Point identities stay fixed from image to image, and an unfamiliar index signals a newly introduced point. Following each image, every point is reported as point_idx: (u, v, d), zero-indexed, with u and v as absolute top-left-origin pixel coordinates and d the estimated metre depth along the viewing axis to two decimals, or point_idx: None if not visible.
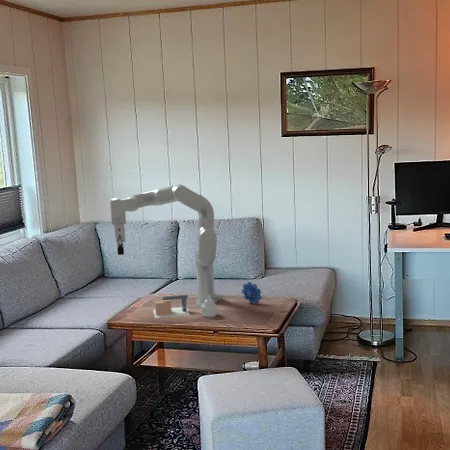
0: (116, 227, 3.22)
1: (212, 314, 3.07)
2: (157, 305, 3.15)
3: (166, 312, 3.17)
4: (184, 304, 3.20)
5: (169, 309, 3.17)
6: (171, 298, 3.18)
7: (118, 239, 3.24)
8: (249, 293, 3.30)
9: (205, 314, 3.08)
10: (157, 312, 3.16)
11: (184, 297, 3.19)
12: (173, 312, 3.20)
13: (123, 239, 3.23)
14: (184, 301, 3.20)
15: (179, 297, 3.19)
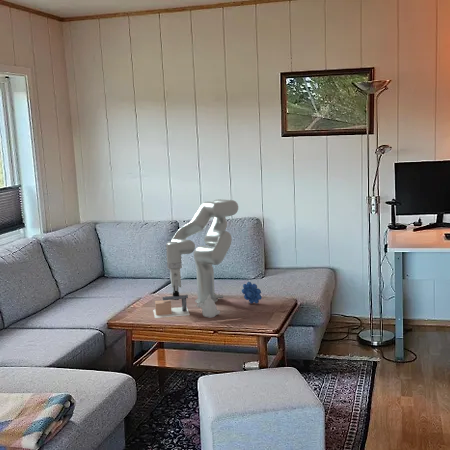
0: (172, 272, 3.16)
1: (212, 314, 3.07)
2: (157, 305, 3.15)
3: (166, 312, 3.17)
4: (184, 304, 3.20)
5: (169, 309, 3.17)
6: (171, 298, 3.18)
7: None
8: (249, 293, 3.30)
9: (205, 314, 3.08)
10: (157, 312, 3.16)
11: (184, 297, 3.19)
12: (173, 312, 3.20)
13: (179, 284, 3.17)
14: (184, 301, 3.20)
15: (179, 297, 3.19)
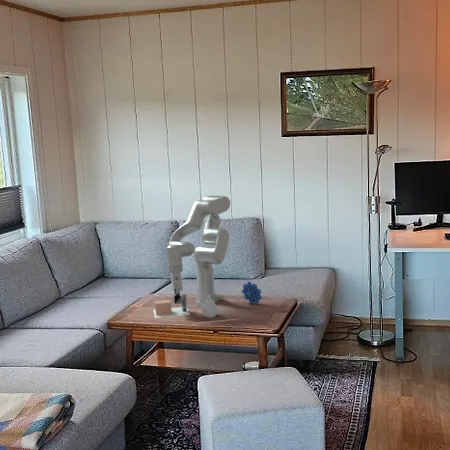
0: (173, 275, 3.12)
1: (212, 314, 3.07)
2: (157, 305, 3.15)
3: (166, 312, 3.17)
4: None
5: (169, 309, 3.17)
6: (182, 300, 3.14)
7: None
8: (249, 293, 3.30)
9: (205, 314, 3.08)
10: (157, 312, 3.16)
11: (185, 297, 3.20)
12: (173, 312, 3.20)
13: (180, 287, 3.12)
14: None
15: (184, 297, 3.18)
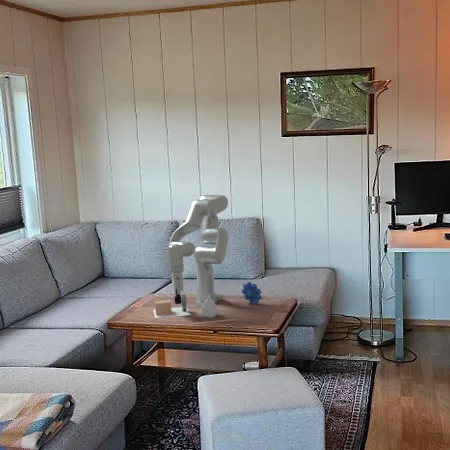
0: (174, 275, 3.09)
1: (212, 314, 3.07)
2: (157, 305, 3.15)
3: (166, 312, 3.17)
4: None
5: (169, 309, 3.17)
6: None
7: (176, 288, 3.12)
8: (249, 293, 3.30)
9: (205, 314, 3.08)
10: (157, 312, 3.16)
11: (185, 296, 3.20)
12: (173, 312, 3.20)
13: (181, 288, 3.10)
14: None
15: (185, 297, 3.18)
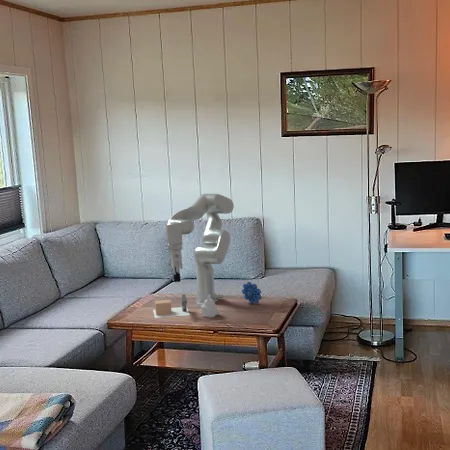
0: (173, 253, 3.07)
1: (212, 314, 3.07)
2: (157, 305, 3.15)
3: (166, 312, 3.17)
4: None
5: (169, 309, 3.17)
6: None
7: (175, 266, 3.11)
8: (249, 293, 3.30)
9: (205, 314, 3.08)
10: (157, 312, 3.16)
11: (185, 296, 3.21)
12: (173, 312, 3.20)
13: (180, 265, 3.08)
14: None
15: (185, 297, 3.18)
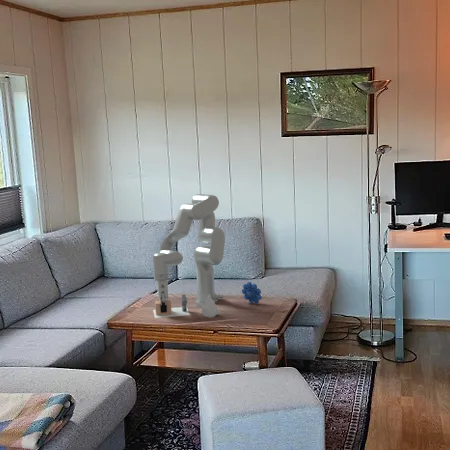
0: (159, 283, 3.13)
1: (212, 314, 3.07)
2: (157, 305, 3.15)
3: (166, 312, 3.17)
4: None
5: (169, 309, 3.17)
6: None
7: (161, 296, 3.15)
8: (249, 293, 3.30)
9: (205, 314, 3.08)
10: (157, 312, 3.16)
11: (185, 296, 3.21)
12: (173, 312, 3.20)
13: (166, 296, 3.14)
14: None
15: None
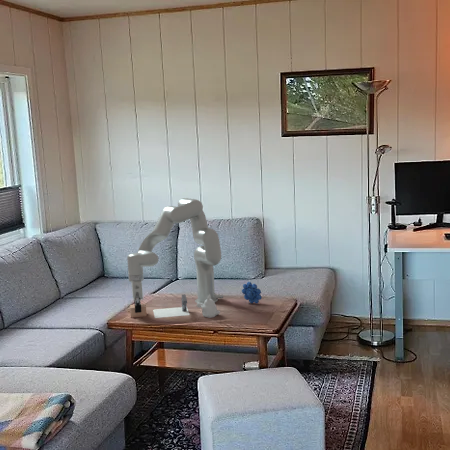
0: (133, 284, 3.11)
1: (212, 314, 3.07)
2: (132, 309, 3.14)
3: (141, 316, 3.15)
4: None
5: (144, 313, 3.15)
6: None
7: (135, 296, 3.13)
8: (249, 293, 3.30)
9: (205, 314, 3.08)
10: (132, 316, 3.14)
11: (185, 296, 3.21)
12: (173, 312, 3.20)
13: (141, 296, 3.11)
14: None
15: None
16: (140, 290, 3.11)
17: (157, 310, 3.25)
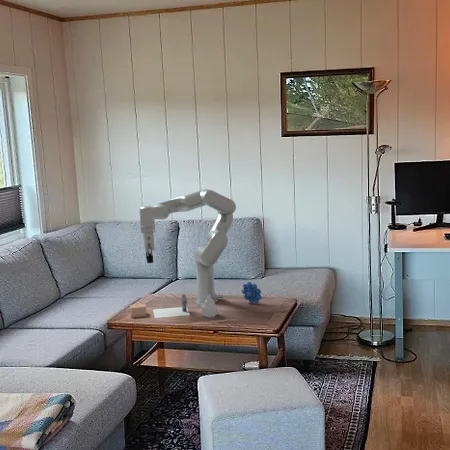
0: (145, 235, 3.21)
1: (212, 314, 3.07)
2: (132, 309, 3.14)
3: None
4: None
5: (144, 313, 3.15)
6: None
7: (147, 247, 3.23)
8: (249, 293, 3.30)
9: (205, 314, 3.08)
10: (132, 316, 3.14)
11: (185, 296, 3.21)
12: (173, 312, 3.20)
13: (152, 247, 3.22)
14: None
15: None
16: (152, 241, 3.22)
17: (157, 310, 3.25)
